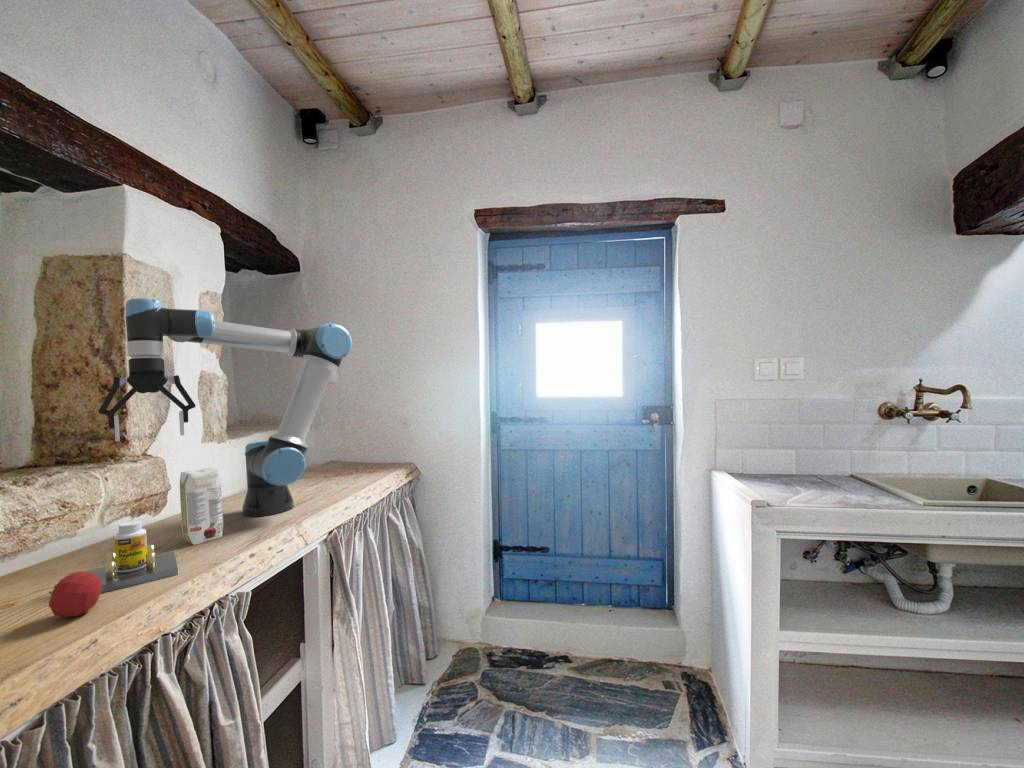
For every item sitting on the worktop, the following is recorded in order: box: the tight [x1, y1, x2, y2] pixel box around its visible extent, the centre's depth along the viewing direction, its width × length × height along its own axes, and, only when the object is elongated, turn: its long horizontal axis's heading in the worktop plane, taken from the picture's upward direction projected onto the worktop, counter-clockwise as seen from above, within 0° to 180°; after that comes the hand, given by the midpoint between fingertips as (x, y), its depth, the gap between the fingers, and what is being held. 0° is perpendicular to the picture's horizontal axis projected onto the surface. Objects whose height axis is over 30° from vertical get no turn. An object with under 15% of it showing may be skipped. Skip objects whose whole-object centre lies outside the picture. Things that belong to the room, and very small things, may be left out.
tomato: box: [48, 570, 102, 619], centre depth 87 cm, size 8×8×8 cm
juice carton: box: [178, 467, 224, 546], centre depth 127 cm, size 8×9×19 cm
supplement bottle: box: [114, 520, 148, 573], centre depth 104 cm, size 6×6×10 cm
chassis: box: [85, 544, 179, 594], centre depth 104 cm, size 16×14×5 cm
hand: (151, 438), depth 124 cm, fingers open, 13 cm apart
